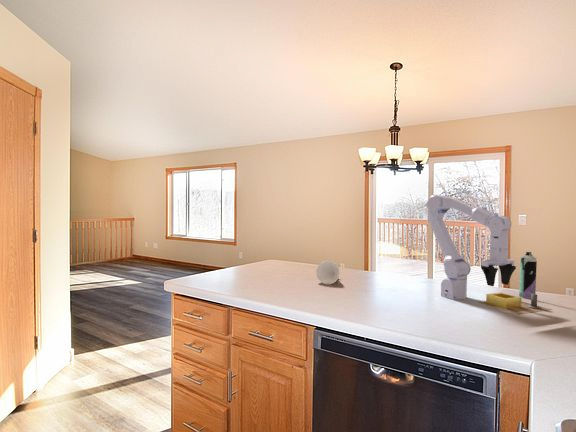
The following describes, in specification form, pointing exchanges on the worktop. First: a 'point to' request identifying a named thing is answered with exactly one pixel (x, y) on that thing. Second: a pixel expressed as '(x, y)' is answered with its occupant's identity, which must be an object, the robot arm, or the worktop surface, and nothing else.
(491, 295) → the golden square frame
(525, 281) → the spray can
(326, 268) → the grey rounded lump
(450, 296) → the robot arm
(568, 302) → the worktop surface
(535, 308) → the board
